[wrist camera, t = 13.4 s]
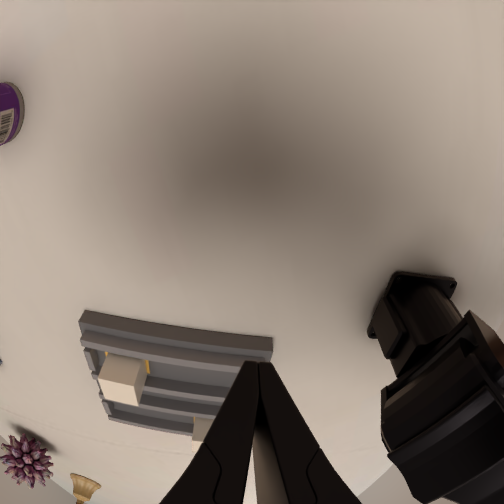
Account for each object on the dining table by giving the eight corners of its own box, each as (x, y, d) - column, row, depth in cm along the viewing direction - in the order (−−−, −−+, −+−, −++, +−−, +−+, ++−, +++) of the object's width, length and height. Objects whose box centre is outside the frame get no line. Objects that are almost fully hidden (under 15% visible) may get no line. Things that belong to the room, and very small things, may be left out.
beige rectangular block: (144, 353, 24) (133, 386, 21) (147, 374, 26) (138, 406, 23) (110, 346, 24) (97, 378, 21) (116, 368, 25) (105, 398, 22)
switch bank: (272, 337, 25) (273, 363, 23) (247, 424, 33) (247, 444, 30) (84, 310, 24) (72, 331, 22) (112, 403, 32) (106, 422, 29)
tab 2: (226, 414, 29) (224, 444, 26) (223, 427, 30) (221, 455, 27) (195, 410, 28) (191, 440, 25) (195, 424, 30) (192, 451, 27)
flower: (71, 456, 45) (57, 504, 35) (35, 447, 46) (20, 489, 36) (35, 426, 39) (15, 479, 29) (0, 417, 41) (-19, 462, 30)
